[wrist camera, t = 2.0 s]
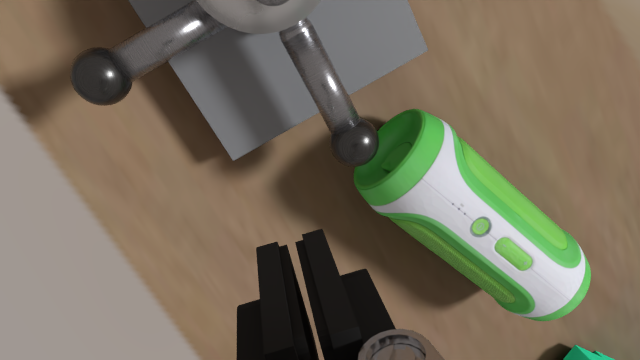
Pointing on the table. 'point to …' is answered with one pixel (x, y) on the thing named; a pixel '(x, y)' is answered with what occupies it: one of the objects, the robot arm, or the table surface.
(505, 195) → the speaker
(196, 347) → the table surface
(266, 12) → the capstan
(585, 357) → the camera mount
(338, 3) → the stand
